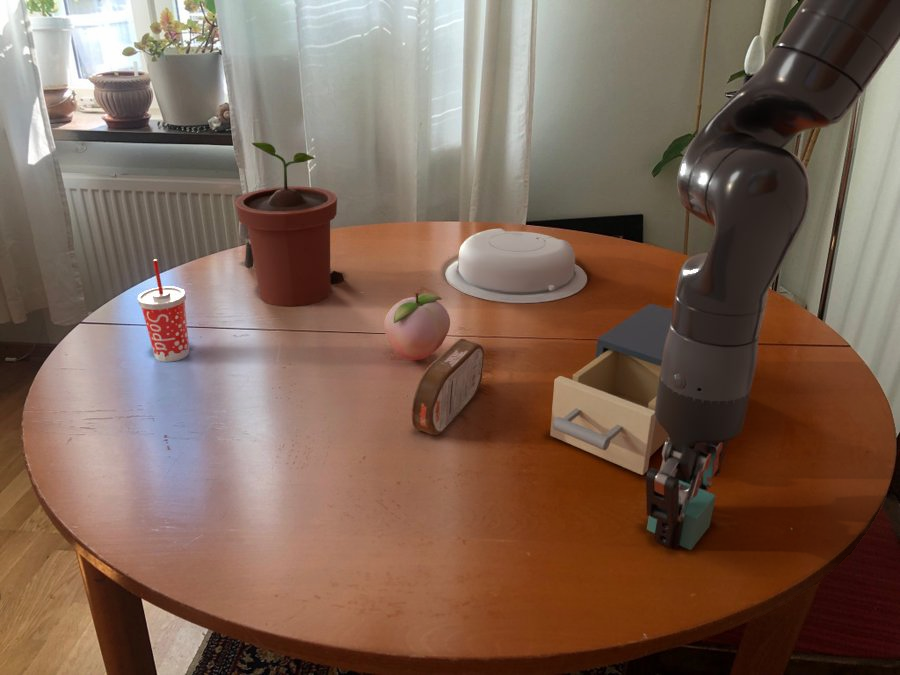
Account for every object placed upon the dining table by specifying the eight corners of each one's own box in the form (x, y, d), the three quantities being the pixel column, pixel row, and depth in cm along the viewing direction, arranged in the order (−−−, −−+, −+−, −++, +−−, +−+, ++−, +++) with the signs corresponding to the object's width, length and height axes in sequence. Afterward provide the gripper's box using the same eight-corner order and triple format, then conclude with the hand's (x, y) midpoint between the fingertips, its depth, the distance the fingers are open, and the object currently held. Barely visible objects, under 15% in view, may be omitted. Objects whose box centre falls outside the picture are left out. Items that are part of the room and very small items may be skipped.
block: (708, 531, 71) (716, 494, 69) (689, 556, 68) (696, 518, 66) (666, 512, 74) (672, 476, 72) (645, 535, 71) (651, 498, 69)
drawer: (623, 495, 75) (631, 433, 71) (528, 452, 81) (532, 394, 78) (692, 425, 86) (702, 370, 83) (604, 392, 93) (610, 340, 90)
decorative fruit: (409, 339, 108) (407, 275, 104) (458, 352, 104) (458, 287, 100) (372, 366, 101) (368, 298, 96) (423, 381, 97) (422, 311, 93)
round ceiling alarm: (416, 277, 130) (415, 244, 127) (501, 242, 147) (502, 212, 144) (533, 316, 115) (535, 279, 113) (613, 272, 133) (617, 239, 130)
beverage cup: (139, 358, 102) (119, 263, 96) (171, 341, 107) (155, 249, 101) (172, 368, 100) (154, 271, 94) (204, 349, 105) (189, 256, 99)
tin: (465, 385, 96) (466, 326, 93) (487, 390, 95) (489, 331, 91) (409, 444, 84) (407, 379, 80) (434, 451, 83) (433, 385, 79)
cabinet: (687, 443, 85) (700, 372, 81) (590, 405, 92) (597, 338, 88) (733, 396, 94) (746, 330, 90) (641, 365, 101) (650, 303, 97)
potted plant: (231, 315, 116) (208, 153, 104) (245, 265, 135) (227, 125, 124) (345, 309, 118) (335, 150, 107) (343, 261, 137) (335, 123, 126)
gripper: (715, 426, 56) (682, 593, 64) (778, 359, 66) (744, 510, 74) (626, 393, 61) (605, 553, 68) (698, 335, 70) (673, 480, 78)
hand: (677, 530), depth 71 cm, fingers closed on block, 4 cm apart
